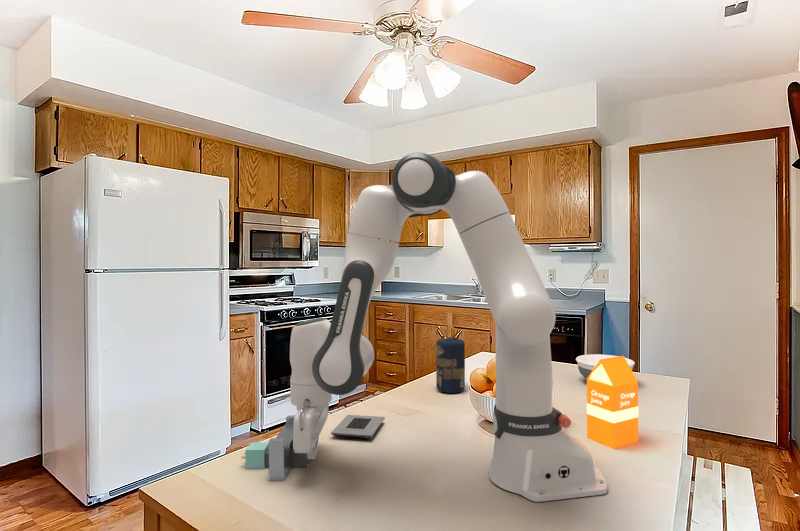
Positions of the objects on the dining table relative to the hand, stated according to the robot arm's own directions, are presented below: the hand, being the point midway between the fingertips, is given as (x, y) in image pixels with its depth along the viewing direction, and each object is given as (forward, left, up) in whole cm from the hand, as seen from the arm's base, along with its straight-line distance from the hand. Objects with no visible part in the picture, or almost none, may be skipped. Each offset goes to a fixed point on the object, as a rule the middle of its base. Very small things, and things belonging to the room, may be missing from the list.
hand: (312, 456), depth 101 cm
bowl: (-89, -61, -2) cm, 108 cm away
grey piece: (+6, 0, -2) cm, 6 cm away
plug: (+8, 0, -2) cm, 8 cm away
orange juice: (-70, -12, -2) cm, 71 cm away
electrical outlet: (-8, -19, -2) cm, 21 cm away
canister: (-35, -54, -2) cm, 64 cm away
